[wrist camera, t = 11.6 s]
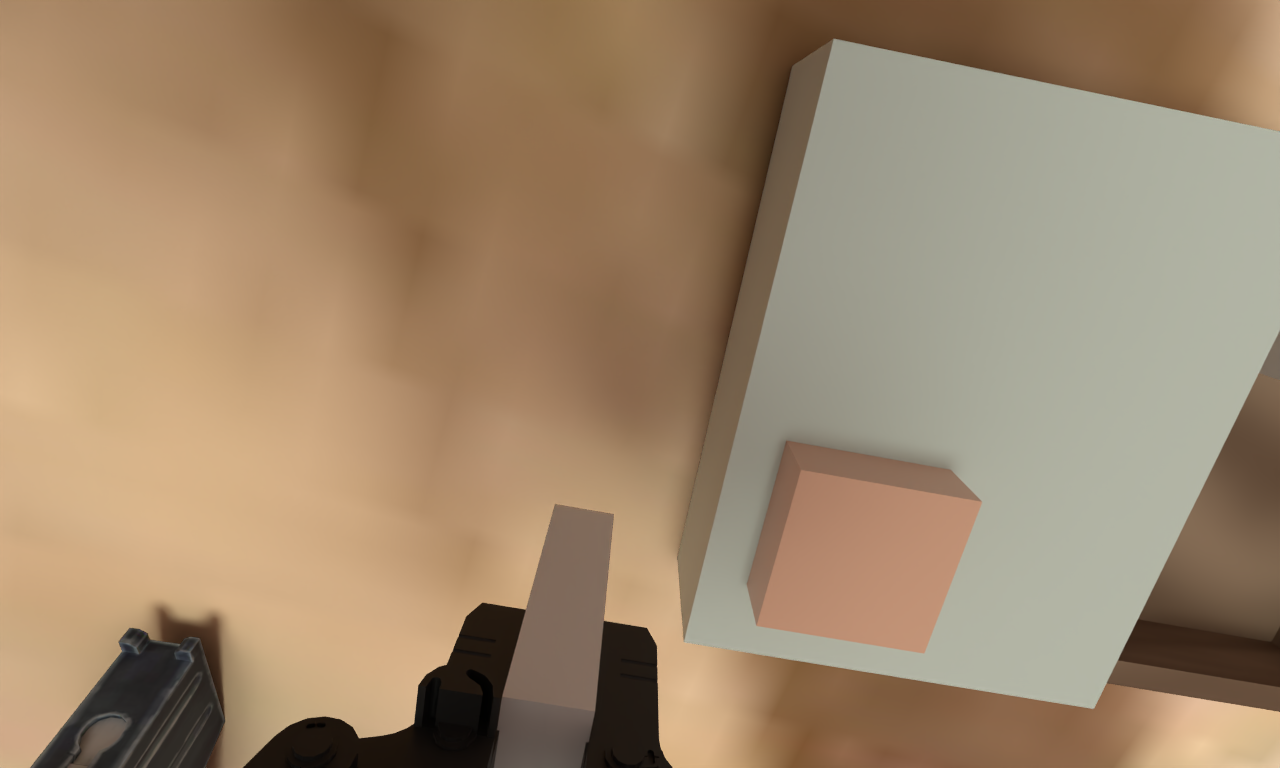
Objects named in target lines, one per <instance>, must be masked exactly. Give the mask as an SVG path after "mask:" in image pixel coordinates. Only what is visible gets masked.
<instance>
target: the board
mask: <svg viewBox="0 0 1280 768" xmlns="http://www.w3.org/2000/svg"><path fill="white" fill-rule="evenodd" d="M1279 331H1280V131H1275V130H1270V129H1265V128H1260V127H1256V126H1251V125H1246V124H1241V123H1236V122H1232V121H1227V120H1222V119H1217V118H1212V117H1208V116H1203V115H1198V114H1193V113H1188V112H1184V111H1179V110H1174V109H1169V108H1164V107H1160V106H1155V105H1150V104H1145V103H1140V102H1136V101H1131V100H1126V99H1121V98H1116V97H1112V96H1107V95H1102V94H1097V93H1092V92H1088V91H1083V90H1078V89H1073V88H1068V87H1063V86H1059V85H1054V84H1049V83H1044V82H1039V81H1035V80H1030V79H1025V78H1020V77H1015V76H1011V75H1006V74H1001V73H996V72H991V71H987V70H982V69H977V68H972V67H967V66H963V65H958V64H953V63H948V62H943V61H939V60H934V59H929V58H924V57H919V56H915V55H910V54H905V53H900V52H895V51H891V50H886V49H881V48H876V47H871V46H866V45H862V44H857V43H852V42H847V41H842V40H838V39H833V40H831V41H830V42H828V43H827V44H825V45H823V46H822V47H820V48H819V49H817V50H816V51H814V52H813V53H811V54H810V55H808V56H807V57H805V58H804V59H802V60H800V61H799V62H797V63H796V64H794V65H793V66H792V69H791V74H790V78H789V82H788V86H787V91H786V95H785V99H784V104H783V108H782V112H781V116H780V121H779V125H778V129H777V134H776V138H775V142H774V146H773V151H772V155H771V159H770V163H769V168H768V172H767V176H766V181H765V185H764V189H763V193H762V198H761V202H760V206H759V210H758V215H757V219H756V223H755V228H754V232H753V236H752V240H751V245H750V249H749V253H748V257H747V262H746V266H745V270H744V275H743V279H742V283H741V287H740V292H739V296H738V300H737V304H736V309H735V313H734V317H733V322H732V326H731V330H730V334H729V339H728V343H727V347H726V351H725V356H724V360H723V364H722V369H721V373H720V377H719V381H718V386H717V390H716V394H715V398H714V403H713V407H712V411H711V416H710V420H709V424H708V428H707V433H706V437H705V441H704V445H703V450H702V454H701V458H700V463H699V467H698V471H697V475H696V480H695V484H694V488H693V492H692V497H691V501H690V505H689V510H688V514H687V518H686V522H685V527H684V531H683V535H682V539H681V544H680V548H679V552H678V557H677V560H678V573H679V586H680V599H681V612H682V625H683V638H684V642H685V643H692V644H698V645H704V646H710V647H716V648H722V649H729V650H735V651H741V652H747V653H753V654H759V655H765V656H772V657H778V658H784V659H790V660H796V661H802V662H809V663H815V664H821V665H827V666H833V667H839V668H845V669H852V670H858V671H864V672H870V673H876V674H882V675H889V676H895V677H901V678H907V679H913V680H919V681H925V682H932V683H938V684H944V685H950V686H956V687H962V688H969V689H975V690H981V691H987V692H993V693H999V694H1005V695H1012V696H1018V697H1024V698H1030V699H1036V700H1042V701H1049V702H1055V703H1061V704H1067V705H1073V706H1079V707H1085V708H1092V709H1094V707H1095V705H1096V703H1097V701H1098V699H1099V697H1100V695H1101V693H1102V691H1103V689H1104V687H1105V685H1106V683H1107V681H1108V679H1109V677H1110V675H1111V673H1112V671H1113V669H1114V667H1115V665H1116V663H1117V661H1118V659H1119V657H1120V654H1121V652H1122V650H1123V648H1124V646H1125V644H1126V642H1127V640H1128V638H1129V636H1130V634H1131V632H1132V630H1133V628H1134V626H1135V624H1136V622H1137V620H1138V618H1139V616H1140V614H1141V612H1142V610H1143V608H1144V606H1145V604H1146V602H1147V600H1148V598H1149V596H1150V593H1151V591H1152V589H1153V587H1154V585H1155V583H1156V581H1157V579H1158V577H1159V575H1160V573H1161V571H1162V569H1163V567H1164V565H1165V563H1166V561H1167V559H1168V557H1169V555H1170V553H1171V551H1172V549H1173V547H1174V545H1175V543H1176V541H1177V539H1178V537H1179V534H1180V532H1181V530H1182V528H1183V526H1184V524H1185V522H1186V520H1187V518H1188V516H1189V514H1190V512H1191V510H1192V508H1193V506H1194V504H1195V502H1196V500H1197V498H1198V496H1199V494H1200V492H1201V490H1202V488H1203V486H1204V484H1205V482H1206V480H1207V478H1208V476H1209V473H1210V471H1211V469H1212V467H1213V465H1214V463H1215V461H1216V459H1217V457H1218V455H1219V453H1220V451H1221V449H1222V447H1223V445H1224V443H1225V441H1226V439H1227V437H1228V435H1229V433H1230V431H1231V429H1232V427H1233V425H1234V423H1235V421H1236V419H1237V417H1238V415H1239V412H1240V410H1241V408H1242V406H1243V404H1244V402H1245V400H1246V398H1247V396H1248V394H1249V392H1250V390H1251V388H1252V386H1253V384H1254V382H1255V380H1256V378H1257V376H1258V374H1259V372H1260V370H1261V368H1262V366H1263V364H1264V362H1265V360H1266V358H1267V356H1268V353H1269V351H1270V349H1271V347H1272V345H1273V343H1274V341H1275V339H1276V337H1277V335H1278V333H1279ZM786 440H787V441H792V442H798V443H803V444H809V445H815V446H820V447H826V448H831V449H837V450H843V451H848V452H854V453H859V454H865V455H871V456H876V457H882V458H888V459H893V460H899V461H904V462H910V463H916V464H921V465H927V466H932V467H938V468H944V469H949V470H952V471H953V473H954V474H955V475H956V476H957V477H958V478H959V479H960V480H961V481H962V482H963V483H964V484H965V485H966V486H967V487H968V488H969V489H970V490H971V491H972V492H973V493H974V494H975V495H976V496H977V497H978V498H979V499H980V500H981V501H982V504H981V507H980V509H979V512H978V515H977V517H976V520H975V523H974V525H973V528H972V530H971V533H970V536H969V538H968V541H967V543H966V546H965V549H964V551H963V554H962V556H961V559H960V562H959V564H958V567H957V570H956V572H955V575H954V577H953V580H952V583H951V585H950V588H949V590H948V593H947V596H946V598H945V601H944V603H943V606H942V609H941V611H940V614H939V617H938V619H937V622H936V624H935V627H934V630H933V632H932V635H931V637H930V640H929V643H928V645H927V648H926V650H925V653H918V652H912V651H905V650H899V649H893V648H887V647H881V646H875V645H869V644H863V643H857V642H851V641H845V640H839V639H833V638H826V637H820V636H814V635H808V634H802V633H796V632H790V631H784V630H778V629H772V628H766V627H760V626H756V622H755V618H754V614H753V609H752V605H751V601H750V597H749V592H748V588H747V582H748V578H749V575H750V571H751V567H752V564H753V560H754V556H755V553H756V549H757V546H758V542H759V538H760V535H761V531H762V527H763V524H764V520H765V516H766V513H767V509H768V505H769V502H770V498H771V495H772V491H773V487H774V484H775V480H776V476H777V473H778V469H779V465H780V462H781V458H782V454H783V451H784V447H785V444H786Z"/></svg>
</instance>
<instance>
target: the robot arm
mask: <svg viewBox="0 0 1280 768" xmlns="http://www.w3.org/2000/svg"><path fill="white" fill-rule="evenodd" d="M613 518H614V514H609V513H603V512H598V511H592V510H586V509H580V508H574V507H568V506H563V505H557V504H555V506H554V510H553V513H552V517H551V521H550V524H549V528H548V532H547V535H546V539H545V543H544V546H543V550H542V553H541V557H540V561H539V564H538V568H537V572H536V575H535V579H534V583H533V586H532V590H531V593H530V597H529V601H528V604H527V608H526V610H524V609H518V608H512V607H505V606H499V605H493V604H487V603H481V604H480V605H479V606H478V607H477V608H476V609H475V610H473V611H472V612H471V613H470V614H469V615H468V616H466V619H465V621H464V624H463V626H462V629H461V631H460V634H459V638H458V639H457V641H456V643H455V646H454V649H453V652H452V653H451V656H450V658H449V661H448V663H447V665H444V666H441V667H438V668H436V669H435V670H433V671H432V672H430V673H428V674H427V675H426V676H425V677H424V679H423V680H422V681H421V683H420V684H419V685H418V694H417V703H416V713H415V722H414V724H413V725H411V726H410V727H408V728H406V729H404V730H402V731H399V732H397V733H393V734H388V735H384V736H377V737H368V738H360V739H359V738H358V736H357V734H356V732H355V730H354V729H353V727H352V726H350V725H349V724H347V723H345V722H344V721H342V720H340V719H335V718H330V717H316V718H307V719H305V720H302V721H299V722H297V723H294V724H292V725H289V726H288V727H287V728H285V729H284V730H283V731H281V732H280V733H278V734H277V735H276V736H275V737H274V738H273V739H272V740H271V741H269V742H268V743H267V744H266V745H265V746H264V747H263V748H262V749H261V750H260V751H259V752H258V753H257V754H256V755H255V756H254V757H253V758H252V759H251V760H250V761H249V762H248V763H247V764H246V765H245V766H244V767H243V768H672V766H671V765H670V764H669V763H668V761H667V760H666V759H665V757H664V755H663V752H662V750H661V748H660V743H659V725H658V683H657V645H656V643H655V642H654V640H653V638H652V636H651V635H650V633H649V631H648V629H647V628H643V627H637V626H631V625H625V624H619V623H613V622H607V621H604V612H605V602H606V591H607V581H608V570H609V560H610V549H611V539H612V528H613Z"/></svg>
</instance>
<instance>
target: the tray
mask: <svg viewBox="0 0 1280 768" xmlns="http://www.w3.org/2000/svg"><path fill="white" fill-rule="evenodd" d="M1107 683H1109V684H1115V685H1121V686H1127V687H1133V688H1139V689H1145V690H1152V691H1158V692H1164V693H1170V694H1176V695H1182V696H1188V697H1194V698H1200V699H1206V700H1212V701H1218V702H1224V703H1231V704H1237V705H1243V706H1249V707H1255V708H1261V709H1267V710H1273V711H1279V712H1280V380H1278V379H1275V378H1272V377H1269V376H1266V375H1263V374H1261V373H1259V374H1258V376H1257V378H1256V380H1255V382H1254V384H1253V386H1252V388H1251V390H1250V392H1249V394H1248V396H1247V398H1246V400H1245V402H1244V404H1243V406H1242V408H1241V410H1240V412H1239V415H1238V417H1237V419H1236V421H1235V423H1234V425H1233V427H1232V429H1231V431H1230V433H1229V435H1228V437H1227V439H1226V441H1225V443H1224V445H1223V447H1222V449H1221V451H1220V453H1219V455H1218V457H1217V459H1216V461H1215V463H1214V465H1213V467H1212V469H1211V471H1210V473H1209V476H1208V478H1207V480H1206V482H1205V484H1204V486H1203V488H1202V490H1201V492H1200V494H1199V496H1198V498H1197V500H1196V502H1195V504H1194V506H1193V508H1192V510H1191V512H1190V514H1189V516H1188V518H1187V520H1186V522H1185V524H1184V526H1183V528H1182V530H1181V532H1180V534H1179V537H1178V539H1177V541H1176V543H1175V545H1174V547H1173V549H1172V551H1171V553H1170V555H1169V557H1168V559H1167V561H1166V563H1165V565H1164V567H1163V569H1162V571H1161V573H1160V575H1159V577H1158V579H1157V581H1156V583H1155V585H1154V587H1153V589H1152V591H1151V593H1150V596H1149V598H1148V600H1147V602H1146V604H1145V606H1144V608H1143V610H1142V612H1141V614H1140V616H1139V618H1138V620H1137V622H1136V624H1135V626H1134V628H1133V630H1132V632H1131V634H1130V636H1129V638H1128V640H1127V642H1126V644H1125V646H1124V648H1123V650H1122V652H1121V654H1120V657H1119V659H1118V661H1117V663H1116V665H1115V667H1114V669H1113V671H1112V673H1111V675H1110V677H1109V679H1108V681H1107Z"/></svg>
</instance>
